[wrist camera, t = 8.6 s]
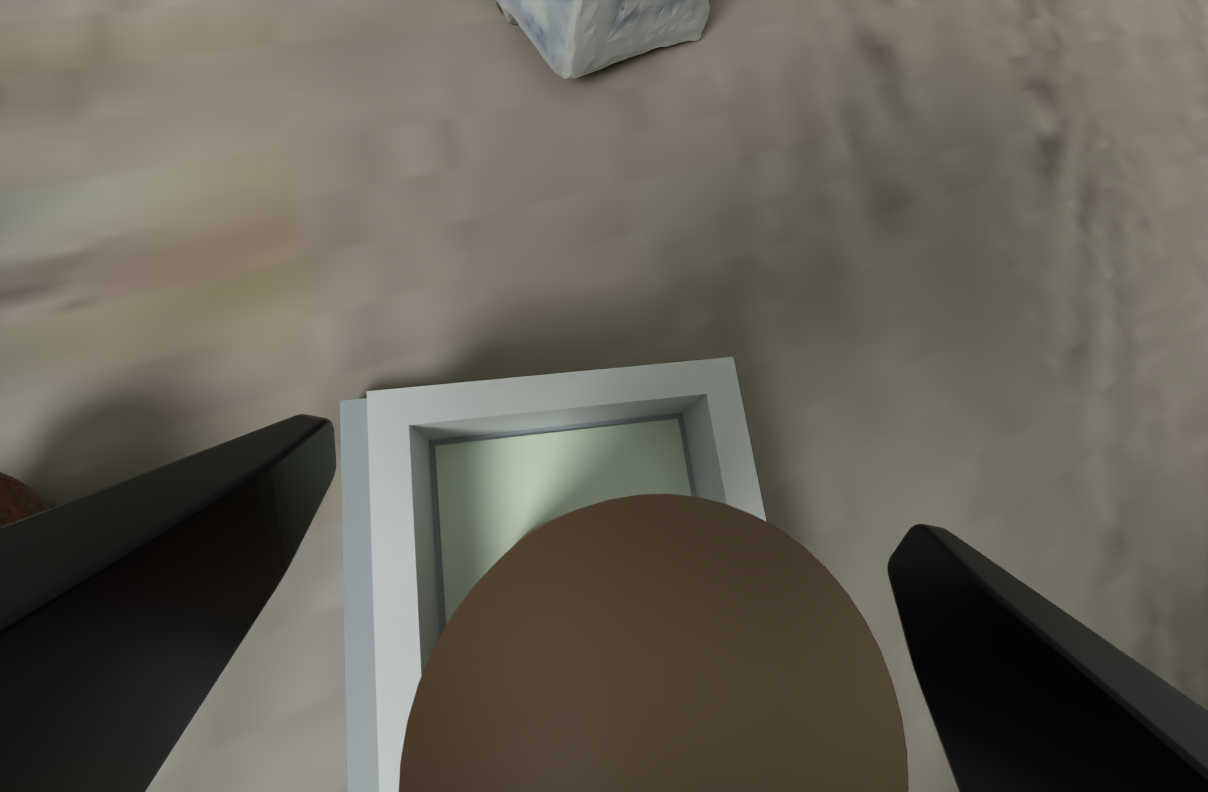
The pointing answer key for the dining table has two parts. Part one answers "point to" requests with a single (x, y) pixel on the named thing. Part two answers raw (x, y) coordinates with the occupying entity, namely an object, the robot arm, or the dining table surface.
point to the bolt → (18, 501)
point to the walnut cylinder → (655, 665)
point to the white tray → (500, 502)
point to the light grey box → (603, 29)
